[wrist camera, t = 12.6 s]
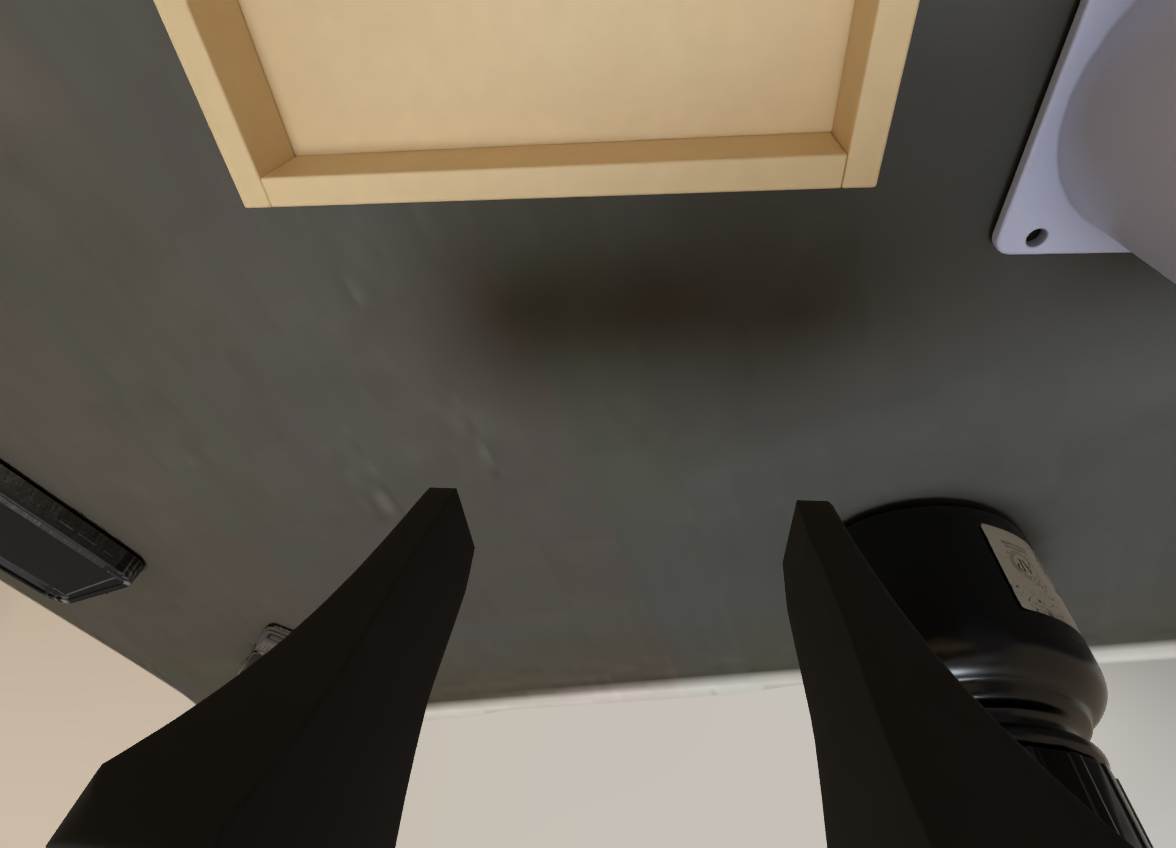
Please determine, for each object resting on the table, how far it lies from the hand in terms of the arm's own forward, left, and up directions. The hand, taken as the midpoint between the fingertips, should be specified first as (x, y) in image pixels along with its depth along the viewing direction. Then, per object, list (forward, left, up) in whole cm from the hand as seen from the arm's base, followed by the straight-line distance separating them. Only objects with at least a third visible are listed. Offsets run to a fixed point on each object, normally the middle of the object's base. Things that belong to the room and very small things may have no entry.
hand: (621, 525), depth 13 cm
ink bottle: (-12, +13, -10) cm, 20 cm away
